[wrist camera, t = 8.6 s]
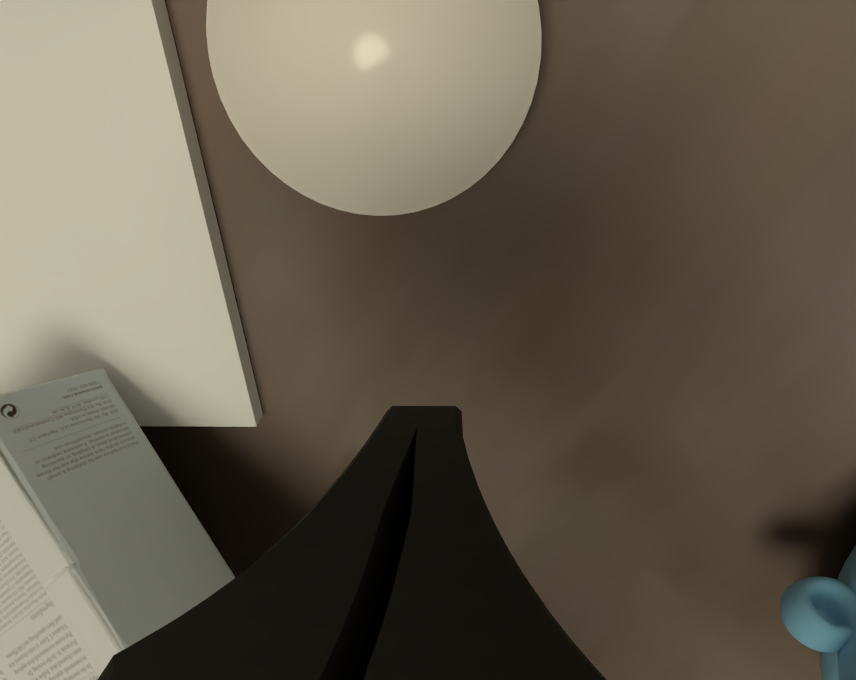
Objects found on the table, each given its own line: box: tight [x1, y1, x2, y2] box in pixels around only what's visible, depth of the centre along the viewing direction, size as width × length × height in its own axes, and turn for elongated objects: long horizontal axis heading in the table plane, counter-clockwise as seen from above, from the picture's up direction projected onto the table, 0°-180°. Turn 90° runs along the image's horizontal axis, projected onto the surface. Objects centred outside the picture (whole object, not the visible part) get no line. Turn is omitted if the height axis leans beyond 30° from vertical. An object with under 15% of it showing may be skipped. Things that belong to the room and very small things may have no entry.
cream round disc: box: [206, 0, 542, 216], centre depth 18 cm, size 9×9×2 cm
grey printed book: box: [0, 369, 235, 680], centre depth 26 cm, size 21×5×16 cm
